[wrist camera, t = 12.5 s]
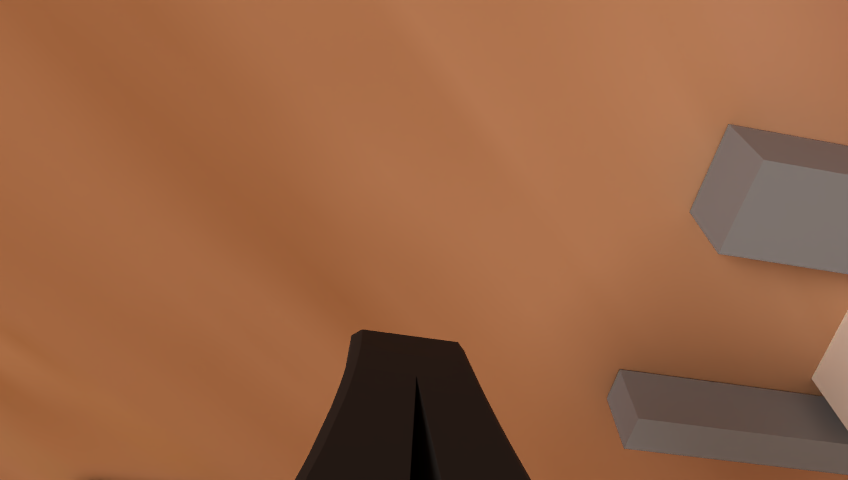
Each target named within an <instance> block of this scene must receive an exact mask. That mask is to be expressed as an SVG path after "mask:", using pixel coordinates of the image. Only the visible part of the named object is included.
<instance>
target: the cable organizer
mask: <svg viewBox="0 0 848 480" xmlns="http://www.w3.org/2000/svg"><path fill="white" fill-rule="evenodd" d="M690 213H691V215H692V216H693V218H694V219H695V221H696V222H697V224H698V225H699V226H700V228H701V229H702V231H703V232H704V234H705V235H706V237H707V238H708V240H709V241H710V242H711V244H712V245H713V247H714V248H715V250H716V251H717V253H718V254H723V255H730V256H736V257H742V258H749V259H755V260H761V261H768V262H774V263H780V264H787V265H793V266H799V267H806V268H812V269H818V270H825V271H831V272H837V273H844V274H848V146H846V145H840V144H835V143H829V142H824V141H818V140H813V139H807V138H802V137H796V136H791V135H785V134H780V133H774V132H769V131H764V130H758V129H753V128H747V127H742V126H736V125H731V124H729V125H728V127H727V129H726V131H725V134H724V136H723V138H722V140H721V143H720V145H719V147H718V149H717V152H716V154H715V156H714V158H713V161H712V163H711V165H710V167H709V170H708V172H707V174H706V176H705V179H704V181H703V183H702V185H701V188H700V190H699V192H698V194H697V197H696V199H695V201H694V203H693V206H692V208H691V210H690ZM607 401H608V403H609V406H610V409H611V412H612V415H613V418H614V421H615V424H616V427H617V430H618V433H619V435H620V438H621V441H622V444H623V447H624V449H633V450H641V451H650V452H658V453H666V454H675V455H683V456H692V457H700V458H709V459H717V460H726V461H734V462H743V463H751V464H759V465H768V466H776V467H785V468H793V469H802V470H810V471H819V472H827V473H836V474H844V475H848V430H847V429H846V427H845V426H844V424H843V423H842V422H841V420H840V419H839V417H838V416H837V414H836V413H835V412H834V410H833V409H832V407H831V406H830V404H829V403H828V402H827V400H826V399H825V397H823V396H816V395H808V394H801V393H793V392H786V391H778V390H771V389H763V388H756V387H748V386H741V385H733V384H726V383H718V382H711V381H703V380H696V379H688V378H681V377H673V376H666V375H658V374H651V373H643V372H636V371H628V370H619V372H618V374H617V377H616V379H615V381H614V383H613V386H612V388H611V390H610V392H609V395H608V397H607Z"/></svg>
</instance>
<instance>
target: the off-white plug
mask: <svg viewBox="0 0 848 480" xmlns="http://www.w3.org/2000/svg"><path fill="white" fill-rule="evenodd" d="M811 379H812V380H813V382H814V383H815V384H816V386H817V387H818V389H819V390H820V392H821V393H822V394H823V396H824V397H825V399H826V400H827V402H828V403H829V404H830V406H831V407H832V409H833V410H834V412H835V413H836V414H837V416H838V417H839V419H840V420H841V422H842V423H843V424H844V426H845V427H846V429H847V430H848V311H847V313H846V314H845V316H844V318H843V320H842V322H841V324H840V326H839V328H838V329H837V331H836V333H835V335H834V337H833V339H832V341H831V343H830V344H829V346H828V348H827V350H826V352H825V354H824V356H823V358H822V359H821V361H820V363H819V365H818V367H817V369H816V371H815V372H814V374H813V376H812V378H811Z"/></svg>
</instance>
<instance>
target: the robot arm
mask: <svg viewBox="0 0 848 480" xmlns="http://www.w3.org/2000/svg"><path fill="white" fill-rule="evenodd" d="M295 480H531V479H530V477H529V476H528V474H527V472H526V470H525V469H524V467H523V465H522V463H521V462H520V460H519V458H518V456H517V455H516V453H515V451H514V450H513V448H512V446H511V444H510V442H509V440H508V439H507V437H506V435H505V433H504V431H503V429H502V428H501V426H500V424H499V422H498V420H497V418H496V416H495V414H494V412H493V410H492V408H491V406H490V404H489V402H488V400H487V398H486V396H485V394H484V392H483V390H482V388H481V386H480V384H479V382H478V380H477V378H476V376H475V374H474V372H473V369H472V367H471V365H470V363H469V361H468V359H467V356H466V354H465V352H464V350H463V349H462V347H461V346H460V345H459V343H458V342H452V341H444V340H437V339H429V338H422V337H415V336H407V335H400V334H392V333H385V332H377V331H370V330H360V331H359V332H357V333H355V334H353V335H352V336H351V341H350V347H349V352H348V357H347V363H346V368H345V372H344V375H343V378H342V380H341V383H340V386H339V388H338V391H337V394H336V396H335V399H334V401H333V404H332V406H331V409H330V411H329V413H328V415H327V417H326V419H325V421H324V423H323V426H322V428H321V430H320V432H319V434H318V436H317V438H316V440H315V443H314V445H313V447H312V449H311V451H310V453H309V455H308V457H307V459H306V461H305V463H304V465H303V466H302V468H301V470H300V472H299V473H298V475H297V477H296V479H295Z"/></svg>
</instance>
